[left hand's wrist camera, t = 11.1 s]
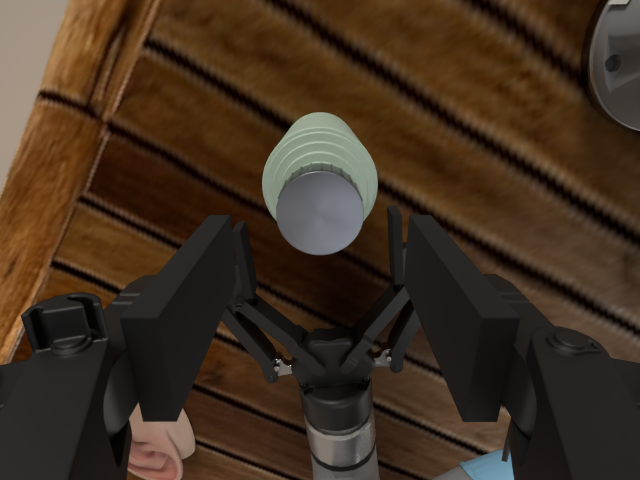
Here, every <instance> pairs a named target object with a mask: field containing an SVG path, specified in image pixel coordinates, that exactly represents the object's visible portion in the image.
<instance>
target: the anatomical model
mask: <svg viewBox="0 0 640 480" xmlns="http://www.w3.org/2000/svg"><path fill="white" fill-rule="evenodd" d="M129 420H130V424H131V429H132V441H131V448H130V455H129V463H128V471H130V472H131V473H133V474H135V475H136V476H139V477H141V478H143V479H146V480H180V479H181V477H182V474H183V464H182V460H181V459H184V458H187V457H188V456H190V455H191V454H192V453H193V452H194V450H195V438H194V434H193V430H192V427H191V425H190V422H189V419H188V417H187V415H186V413H185V411H184V409H182V411H181V413H180V416H179V418H178V420H177V422H143V420H142V415H141V411H140V406H139V402H138V404H137V406H136V407H135V409H134V411H133V413H132V414H131V416H130V418H129Z"/></svg>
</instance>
